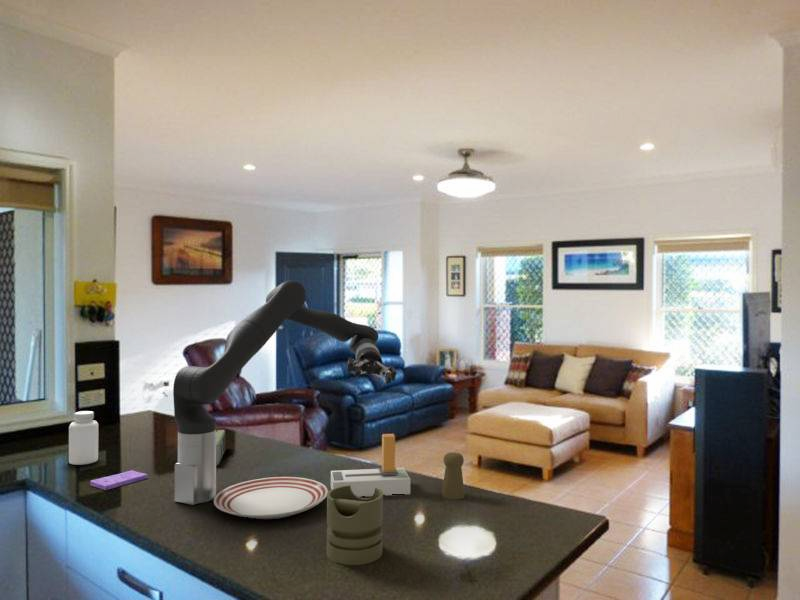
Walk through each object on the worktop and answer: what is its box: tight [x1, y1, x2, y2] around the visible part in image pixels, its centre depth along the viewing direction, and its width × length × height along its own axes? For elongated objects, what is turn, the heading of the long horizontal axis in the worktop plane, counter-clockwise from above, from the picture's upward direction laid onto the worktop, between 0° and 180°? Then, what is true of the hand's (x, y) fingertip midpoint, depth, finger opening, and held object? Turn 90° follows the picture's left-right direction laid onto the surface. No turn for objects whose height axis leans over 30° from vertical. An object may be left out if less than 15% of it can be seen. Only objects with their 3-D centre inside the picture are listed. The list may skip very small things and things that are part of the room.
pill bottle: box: [68, 410, 99, 466], centre depth 186 cm, size 8×8×15 cm
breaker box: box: [330, 467, 411, 498], centre depth 163 cm, size 20×10×4 cm, turn 100°
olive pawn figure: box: [441, 452, 466, 501], centre depth 160 cm, size 6×6×11 cm
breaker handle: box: [378, 433, 398, 475], centre depth 164 cm, size 4×4×10 cm
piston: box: [326, 485, 384, 566], centre depth 125 cm, size 11×12×11 cm
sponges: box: [89, 469, 149, 491], centre depth 168 cm, size 7×13×2 cm, turn 147°
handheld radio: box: [216, 429, 226, 467], centre depth 190 cm, size 7×3×25 cm
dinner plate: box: [213, 476, 329, 520], centre depth 151 cm, size 28×27×3 cm
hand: (373, 378), depth 173 cm, fingers open, 8 cm apart
